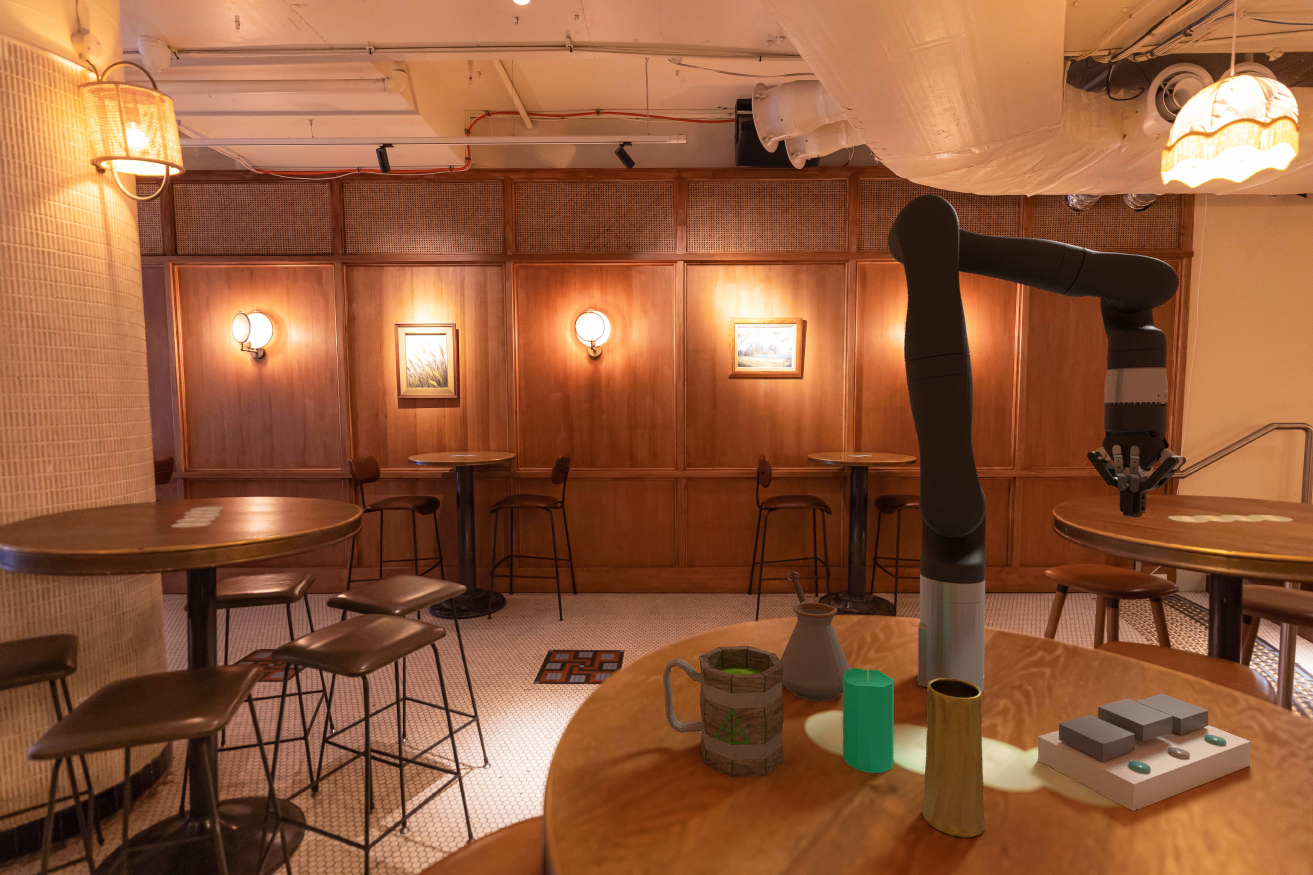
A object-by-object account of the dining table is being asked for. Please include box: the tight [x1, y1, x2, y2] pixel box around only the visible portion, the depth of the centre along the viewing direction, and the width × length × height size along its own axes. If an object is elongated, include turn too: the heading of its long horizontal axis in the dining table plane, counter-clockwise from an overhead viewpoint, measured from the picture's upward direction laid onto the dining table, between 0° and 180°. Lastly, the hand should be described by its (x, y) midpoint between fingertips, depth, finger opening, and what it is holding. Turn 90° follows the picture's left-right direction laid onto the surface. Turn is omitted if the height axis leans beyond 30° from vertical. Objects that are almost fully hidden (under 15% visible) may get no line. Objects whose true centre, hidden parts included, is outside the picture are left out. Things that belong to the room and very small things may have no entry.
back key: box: [1134, 693, 1209, 735], centre depth 82 cm, size 6×5×2 cm
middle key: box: [1097, 697, 1173, 742], centre depth 79 cm, size 6×5×2 cm
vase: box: [921, 678, 986, 838], centre depth 68 cm, size 6×6×14 cm
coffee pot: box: [779, 570, 852, 702], centre depth 104 cm, size 21×12×15 cm, turn 0°
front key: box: [1058, 714, 1135, 761], centre depth 76 cm, size 6×5×2 cm
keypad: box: [1037, 724, 1252, 811], centre depth 78 cm, size 22×11×3 cm, turn 113°
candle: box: [842, 664, 895, 774], centre depth 80 cm, size 6×6×12 cm
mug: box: [662, 645, 785, 778], centre depth 82 cm, size 16×11×12 cm
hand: (1132, 516), depth 96 cm, fingers closed
